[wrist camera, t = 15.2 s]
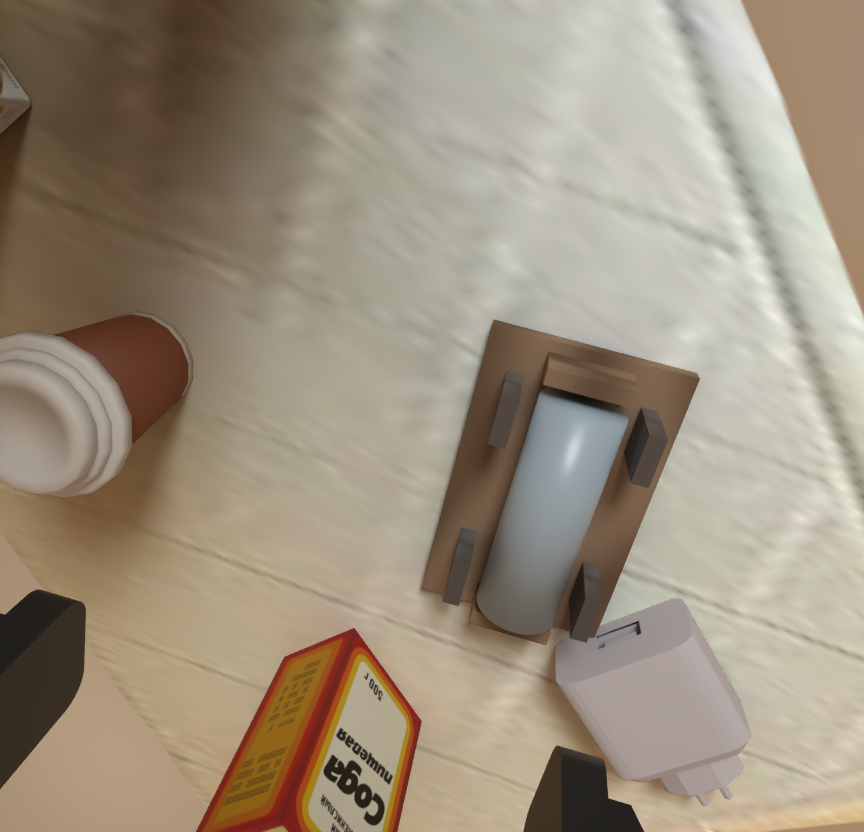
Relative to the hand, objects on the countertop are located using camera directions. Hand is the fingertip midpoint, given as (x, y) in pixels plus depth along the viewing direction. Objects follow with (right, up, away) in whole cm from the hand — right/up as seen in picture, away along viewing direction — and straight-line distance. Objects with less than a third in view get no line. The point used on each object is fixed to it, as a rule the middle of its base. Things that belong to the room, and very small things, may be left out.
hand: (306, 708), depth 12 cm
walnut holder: (+9, 0, +33) cm, 35 cm away
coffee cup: (-16, +8, +35) cm, 39 cm away
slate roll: (+9, 0, +32) cm, 34 cm away
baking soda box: (-4, -16, +43) cm, 46 cm away
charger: (+18, -15, +39) cm, 45 cm away
